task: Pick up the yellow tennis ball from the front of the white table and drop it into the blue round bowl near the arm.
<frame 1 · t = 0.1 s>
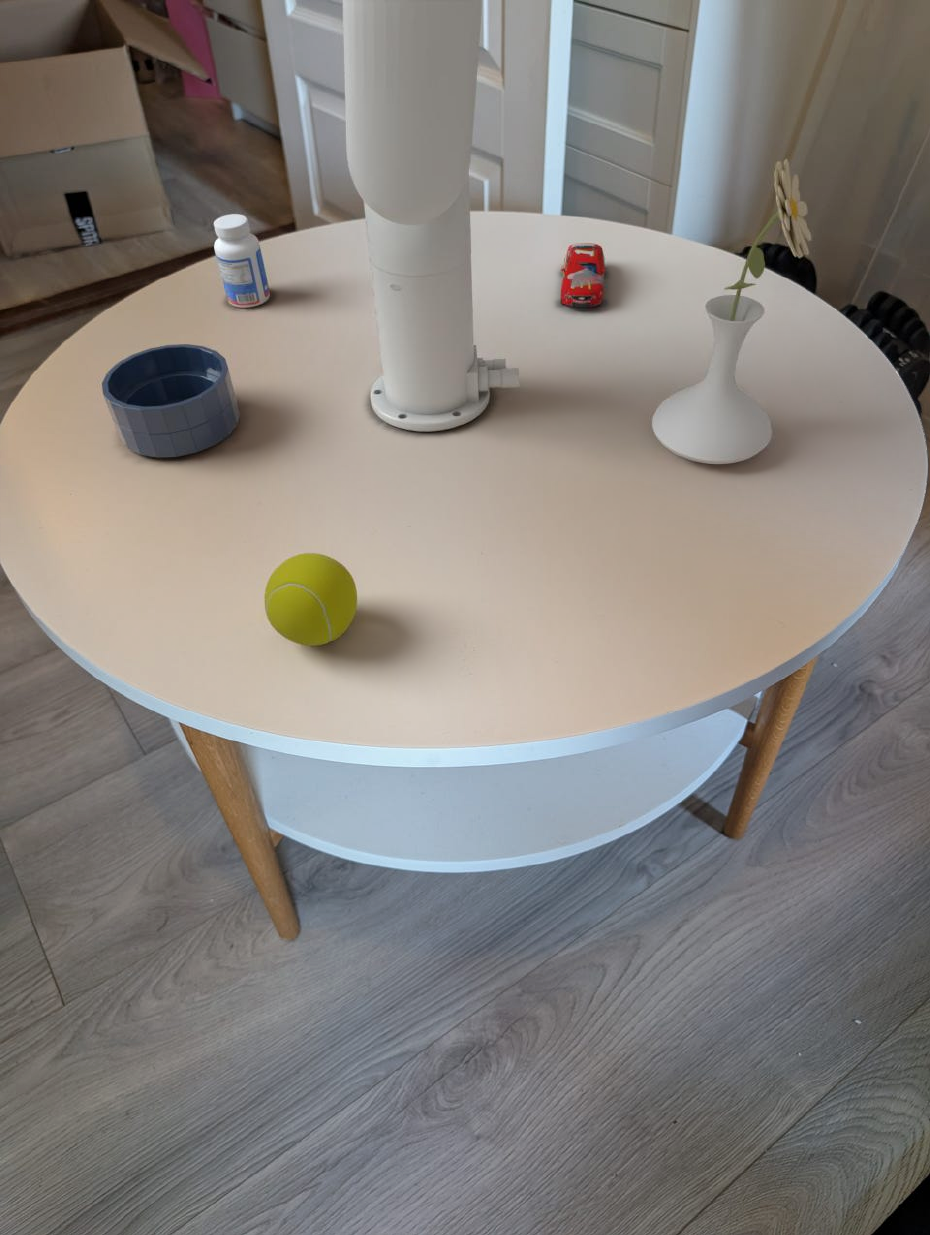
blue round bowl: (181, 426, 91), on the table
pill bottle: (249, 300, 110), on the table
race car: (582, 289, 109), on the table
flower in vase: (712, 438, 87), on the table
tennis ball: (318, 631, 70), on the table
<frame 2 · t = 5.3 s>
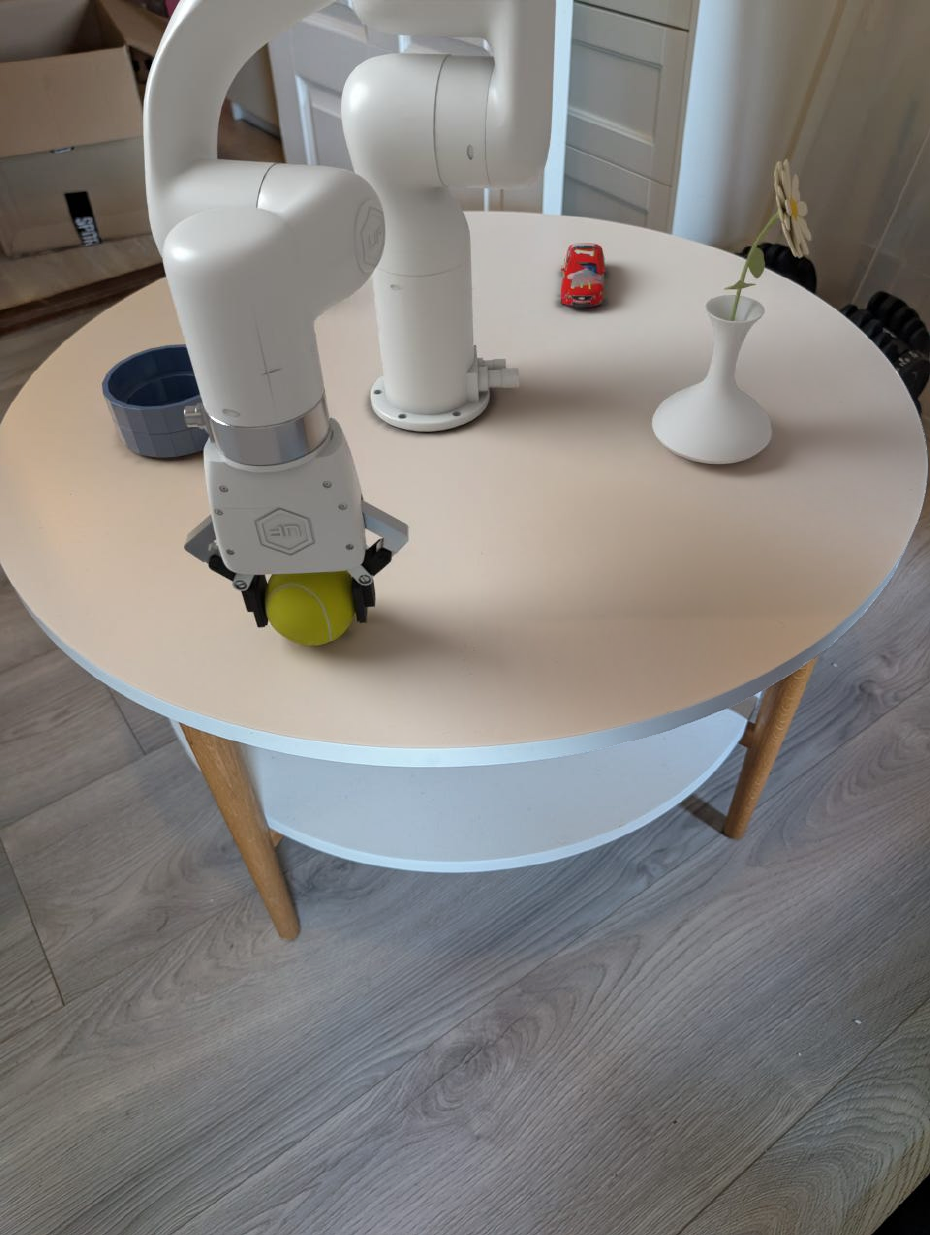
hand: (314, 611, 69), 2 cm above the table, tool pointing down, fingers closed on tennis ball, 7 cm apart
tennis ball: (318, 632, 70), on the table, touching gripper
everything else where it was.
when the fingers open (6 cm above the table, at t = 12.8 s): tennis ball drops 3 cm, resting on blue round bowl.
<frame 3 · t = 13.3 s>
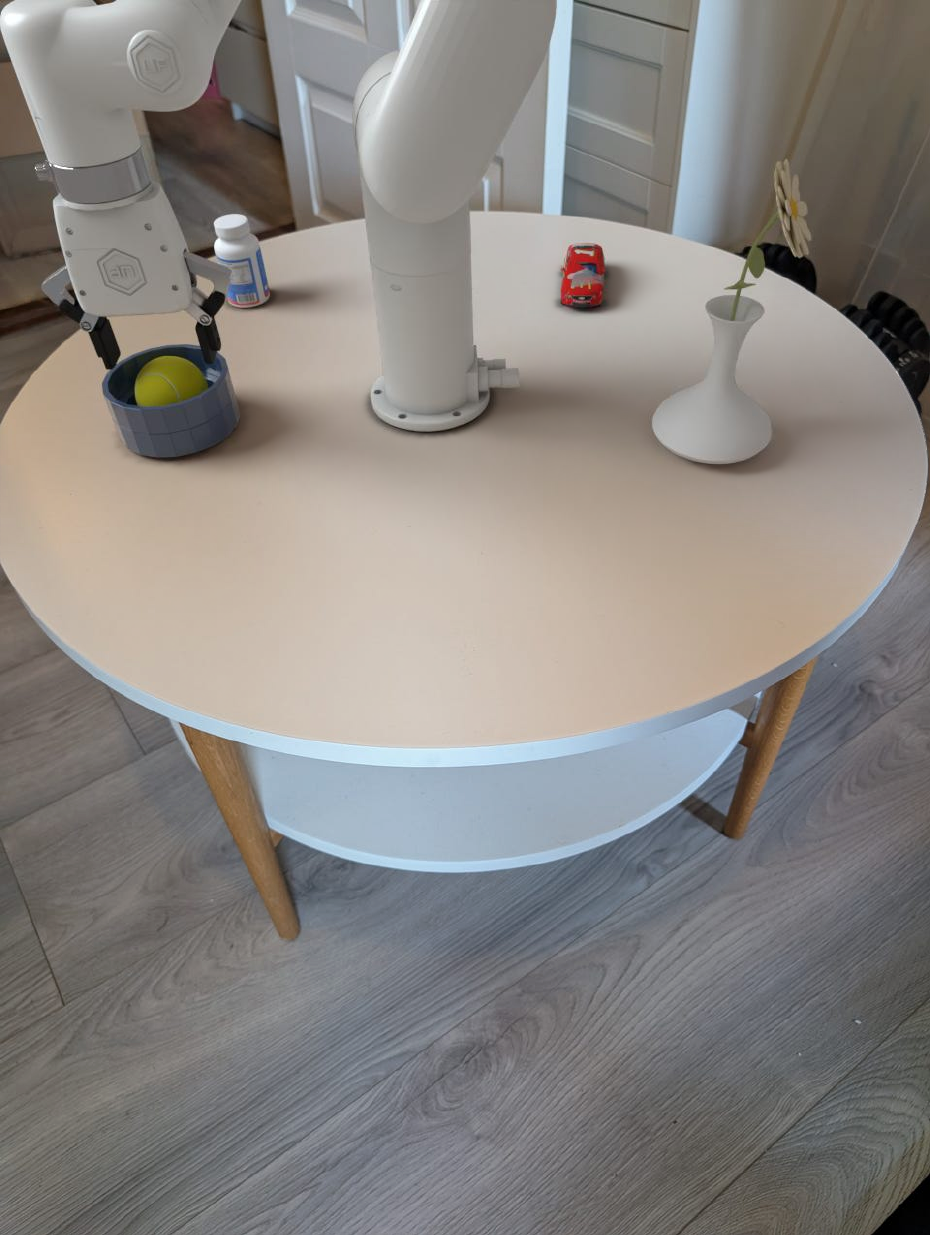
hand: (163, 359, 85), 8 cm above the table, tool pointing down, fingers open, 9 cm apart
tennis ball: (182, 424, 91), resting on blue round bowl
everything else where it was.
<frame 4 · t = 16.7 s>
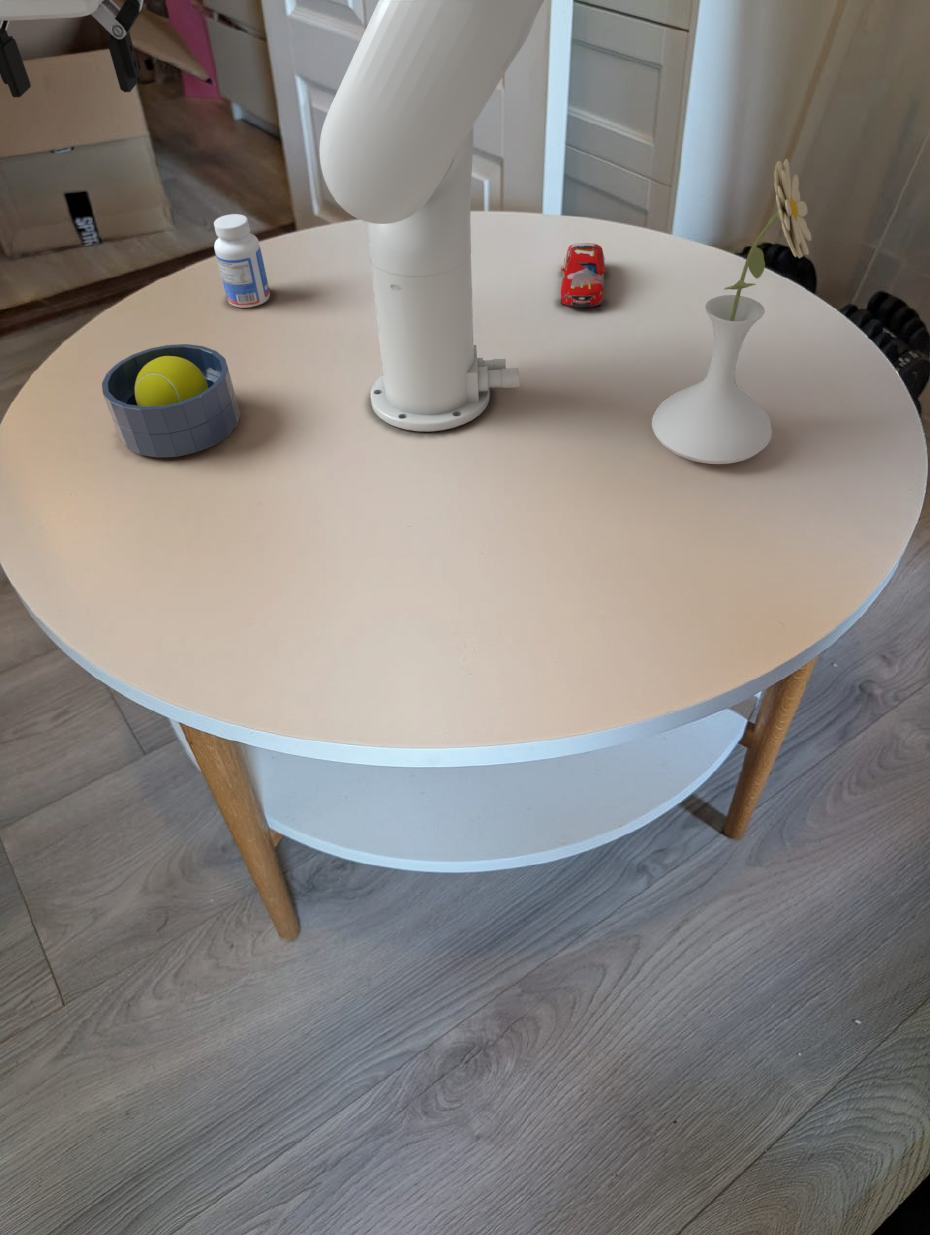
hand: (76, 90, 78), 28 cm above the table, tool pointing down, fingers open, 9 cm apart
nothing on the table moved.
at the end: tennis ball inside the target area in the blue round bowl (0.2 cm from its centre), point 0.3 cm above the blue round bowl's base; the gripper is holding nothing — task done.
